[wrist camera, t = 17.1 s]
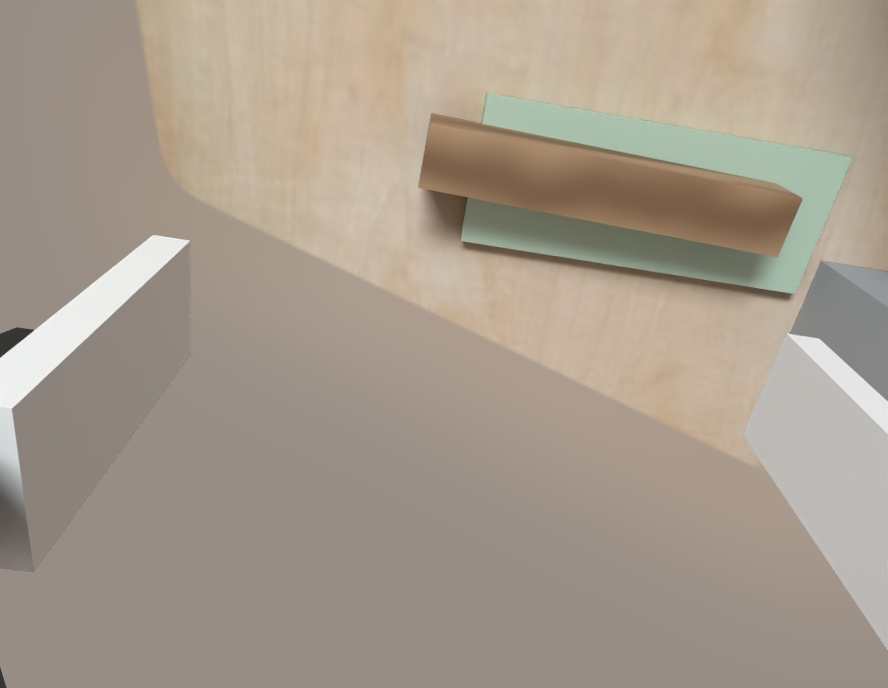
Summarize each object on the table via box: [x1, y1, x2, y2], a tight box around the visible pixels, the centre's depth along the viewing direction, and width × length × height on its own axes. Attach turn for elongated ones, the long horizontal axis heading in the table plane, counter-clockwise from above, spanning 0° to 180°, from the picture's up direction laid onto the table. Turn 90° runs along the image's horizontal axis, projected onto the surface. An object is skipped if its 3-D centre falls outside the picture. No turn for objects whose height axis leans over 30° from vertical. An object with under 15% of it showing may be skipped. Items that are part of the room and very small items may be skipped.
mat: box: [461, 93, 852, 294], centre depth 48 cm, size 10×25×1 cm, turn 81°
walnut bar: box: [418, 113, 803, 257], centre depth 45 cm, size 4×24×4 cm, turn 79°
